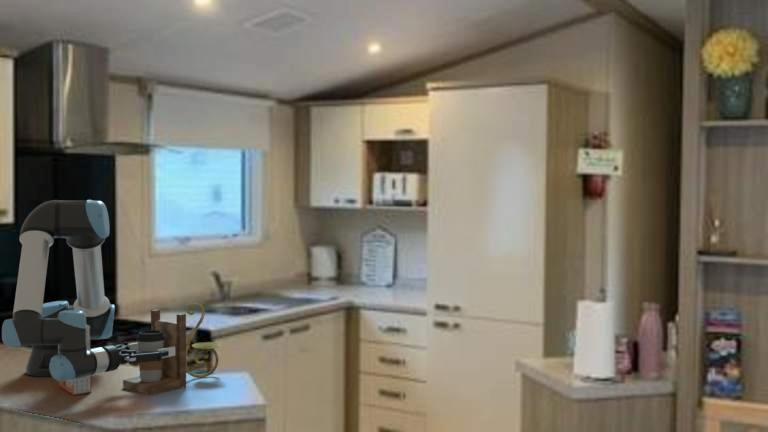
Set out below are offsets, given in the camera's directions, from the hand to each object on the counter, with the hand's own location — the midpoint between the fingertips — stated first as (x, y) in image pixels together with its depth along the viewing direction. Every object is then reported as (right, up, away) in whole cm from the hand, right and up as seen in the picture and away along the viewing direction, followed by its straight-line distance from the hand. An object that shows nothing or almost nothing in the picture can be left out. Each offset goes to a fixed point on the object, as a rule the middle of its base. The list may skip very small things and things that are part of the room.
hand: (160, 348), depth 264 cm
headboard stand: (-1, -12, -1) cm, 12 cm away
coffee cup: (-2, -10, -3) cm, 10 cm away
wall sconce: (+10, -12, +11) cm, 19 cm away
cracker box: (-25, -12, -5) cm, 28 cm away
